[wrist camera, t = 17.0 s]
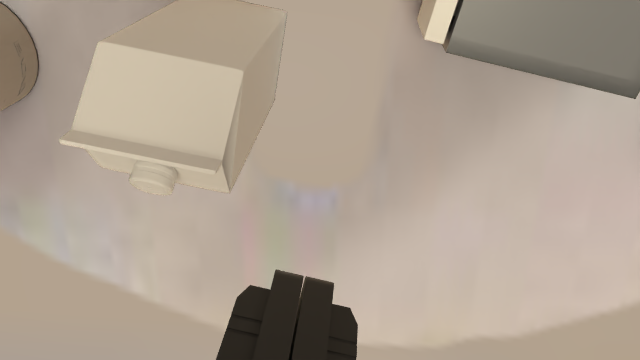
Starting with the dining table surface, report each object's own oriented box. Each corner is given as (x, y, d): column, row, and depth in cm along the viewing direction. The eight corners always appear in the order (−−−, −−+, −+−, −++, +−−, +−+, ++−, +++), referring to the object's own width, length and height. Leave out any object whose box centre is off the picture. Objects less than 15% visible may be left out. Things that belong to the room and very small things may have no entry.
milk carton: (192, -10, 38) (52, 63, 21) (288, 10, 38) (222, 98, 21) (187, 82, 41) (63, 207, 25) (274, 100, 42) (209, 237, 25)
